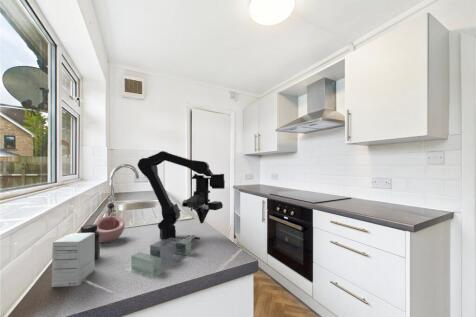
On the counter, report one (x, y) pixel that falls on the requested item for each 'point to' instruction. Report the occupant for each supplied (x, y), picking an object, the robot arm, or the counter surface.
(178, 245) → the sliding jaw
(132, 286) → the counter surface
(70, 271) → the supplement box
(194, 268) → the counter surface
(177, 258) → the vise
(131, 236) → the counter surface
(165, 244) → the steel block
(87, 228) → the supplement bottle
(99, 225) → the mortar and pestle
